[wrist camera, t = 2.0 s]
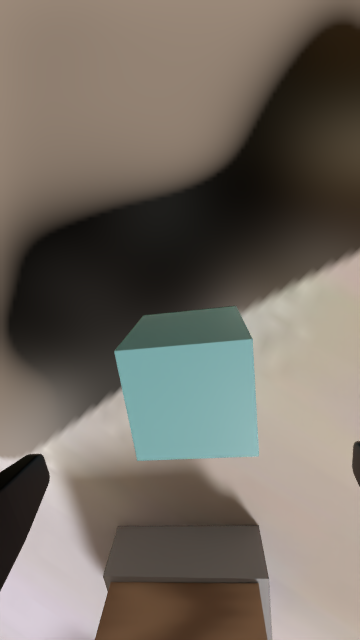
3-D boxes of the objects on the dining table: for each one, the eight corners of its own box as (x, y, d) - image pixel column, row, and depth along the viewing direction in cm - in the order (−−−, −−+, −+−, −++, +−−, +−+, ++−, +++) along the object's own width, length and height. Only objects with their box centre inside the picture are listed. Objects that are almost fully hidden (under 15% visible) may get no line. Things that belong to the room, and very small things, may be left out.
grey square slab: (257, 517, 18) (268, 578, 15) (263, 611, 21) (274, 680, 18) (120, 519, 20) (103, 576, 16) (142, 607, 22) (131, 671, 19)
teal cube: (235, 305, 14) (252, 339, 9) (241, 389, 15) (259, 456, 10) (143, 315, 15) (114, 351, 10) (157, 394, 16) (137, 460, 11)
